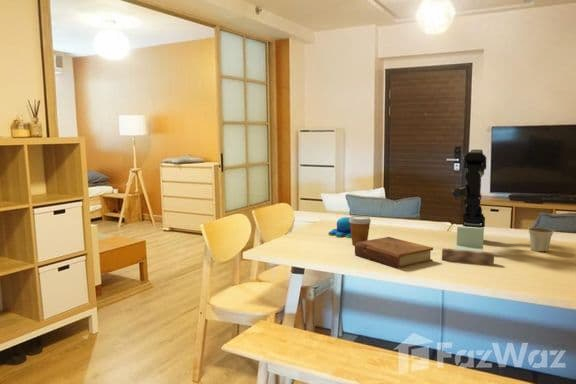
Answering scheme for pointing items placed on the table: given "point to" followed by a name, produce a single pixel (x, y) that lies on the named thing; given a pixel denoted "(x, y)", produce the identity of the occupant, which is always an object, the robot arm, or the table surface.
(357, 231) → the disposable coffee cup
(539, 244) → the flower pot
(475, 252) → the board
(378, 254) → the diary
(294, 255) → the table surface
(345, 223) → the plush toy
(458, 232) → the bookend
